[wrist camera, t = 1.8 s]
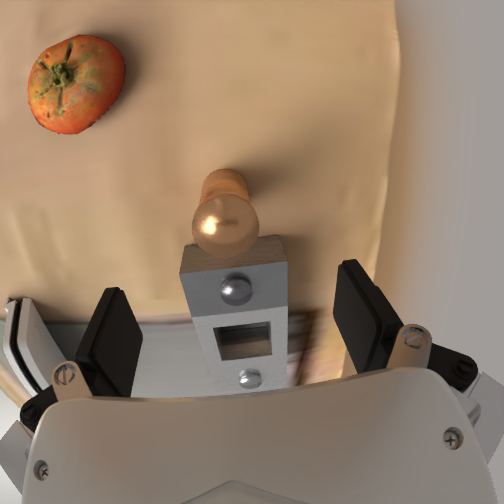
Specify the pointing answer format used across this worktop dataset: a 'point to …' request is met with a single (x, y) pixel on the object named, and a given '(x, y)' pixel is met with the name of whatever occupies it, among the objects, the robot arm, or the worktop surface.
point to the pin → (225, 216)
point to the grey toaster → (30, 346)
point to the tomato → (75, 83)
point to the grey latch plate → (240, 312)
